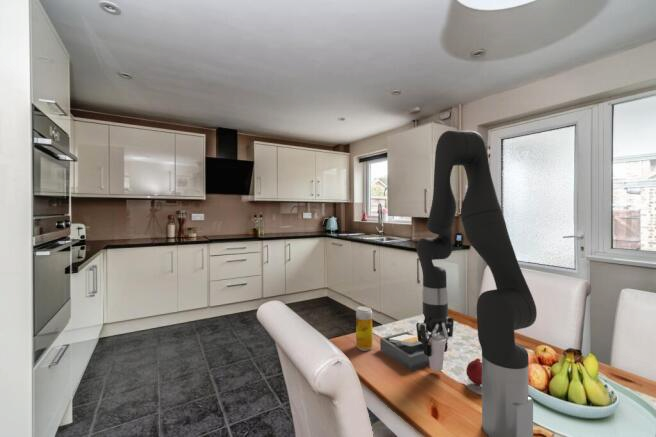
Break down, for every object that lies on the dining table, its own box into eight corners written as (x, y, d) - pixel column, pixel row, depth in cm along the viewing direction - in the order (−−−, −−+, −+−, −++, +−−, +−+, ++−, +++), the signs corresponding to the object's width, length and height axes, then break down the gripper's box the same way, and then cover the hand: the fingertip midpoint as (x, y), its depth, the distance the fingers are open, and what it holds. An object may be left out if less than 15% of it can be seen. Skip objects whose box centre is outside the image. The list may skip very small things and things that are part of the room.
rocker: (431, 343, 100) (430, 336, 101) (409, 349, 96) (408, 342, 96) (408, 339, 111) (407, 333, 111) (387, 344, 106) (386, 338, 107)
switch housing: (439, 361, 100) (439, 348, 99) (410, 370, 94) (410, 357, 94) (407, 342, 114) (407, 331, 114) (380, 350, 108) (380, 338, 108)
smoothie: (449, 373, 88) (448, 327, 88) (426, 372, 89) (426, 326, 89) (445, 363, 94) (444, 320, 94) (424, 361, 96) (423, 319, 96)
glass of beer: (353, 346, 112) (353, 307, 111) (366, 342, 114) (366, 305, 114) (361, 352, 106) (361, 312, 106) (375, 349, 109) (375, 309, 108)
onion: (476, 392, 82) (476, 364, 82) (462, 381, 88) (462, 355, 87) (493, 389, 84) (493, 361, 83) (478, 378, 89) (477, 352, 89)
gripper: (426, 307, 85) (427, 363, 85) (460, 300, 92) (461, 352, 92) (409, 300, 92) (410, 353, 92) (441, 294, 98) (442, 343, 98)
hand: (435, 352), depth 92 cm, fingers closed on smoothie, 6 cm apart
